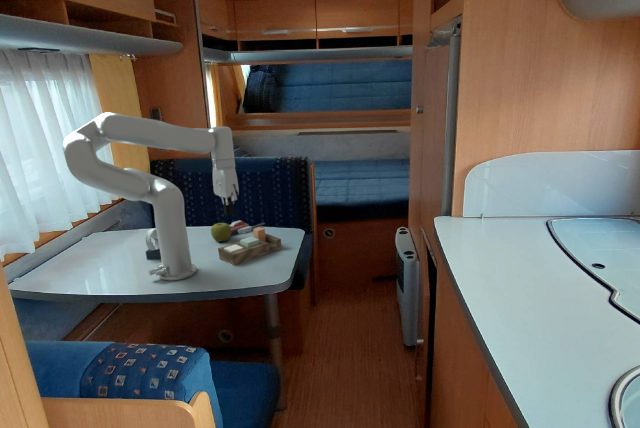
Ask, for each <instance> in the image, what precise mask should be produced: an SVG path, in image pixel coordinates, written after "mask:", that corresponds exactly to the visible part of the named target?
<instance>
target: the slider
mask: <svg viewBox="0 0 640 428" xmlns="http://www.w3.org/2000/svg"><path fill="white" fill-rule="evenodd" d="M252 231H253V237H254V238H257V239H259V240H262V241H264V242H265V241H266V238H265V233H266V229H265V228H264V227H261V226H260V227H257V228H254V229H252Z"/></svg>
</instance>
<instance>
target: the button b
mask: <svg viewBox="0 0 640 428" xmlns="http://www.w3.org/2000/svg"><path fill="white" fill-rule="evenodd" d="M239 242H240V243H241V245H243V246H245V247H251V246H254V245H257V244H259V239H256V238H254V236H248V237H246V238H241V239H240V241H239Z"/></svg>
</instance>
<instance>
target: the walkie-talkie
mask: <svg viewBox="0 0 640 428" xmlns="http://www.w3.org/2000/svg"><path fill="white" fill-rule="evenodd" d="M228 225H229V226H230V228H231V236H230V237H232V236H235V235H243V233H244V234H247V233H249V232H252V231H253V229H256V228H259V227H261V226H263V225H266V223H265V222H262V223H259V224H255V225H252V226H250V225H249V224H248V223H247V222H244V221H243V220H240V219H239V220H236V221H233V222H231V224H228Z"/></svg>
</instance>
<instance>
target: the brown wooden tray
mask: <svg viewBox="0 0 640 428" xmlns="http://www.w3.org/2000/svg"><path fill="white" fill-rule="evenodd" d="M265 238H266V241H265V242H264V241H262V240H259V244H257V245H254V246H251V247H245V246H243V245H241V243H240V241H238V242H234V243H230V244H228V245H224V246H221V247H218V248H217V249H218V258H219V259H220V260H221V261H224V262H226V263H227V262H228V263H227V264H229V263H230V264H229V265H231V264H232V265H231V266H233V265H234V266H237V265H241V264H243V263H245V262H248V261H252V260H254V259H256V258H260V257H262V256H265V255H268V254H270V253H271V254H272V253H274V252H277V251H279V250H280V251H281V250H282V249H283V248H282V239H281V238H278V237H276V236H273V235H271V234H268V233H266V232H265ZM256 239H257V238H256ZM235 244H236V245H238V246H241V247H243V249H242V250H239V251H235V252H232V253H230V252H228V251H226V250H224V248H226V247H229V246H232V245H235Z"/></svg>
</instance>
